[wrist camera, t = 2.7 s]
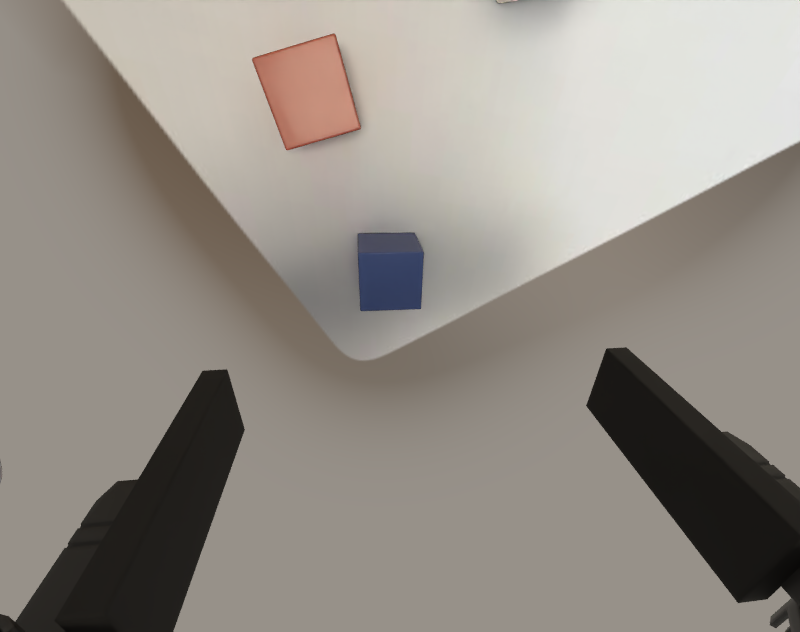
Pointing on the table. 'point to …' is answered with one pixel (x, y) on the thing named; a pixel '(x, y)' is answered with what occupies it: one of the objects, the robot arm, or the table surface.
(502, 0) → the ink box
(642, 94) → the table surface
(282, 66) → the terracotta block
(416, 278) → the blue block
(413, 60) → the table surface
